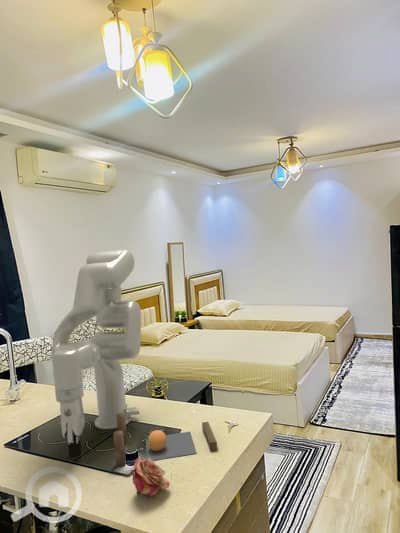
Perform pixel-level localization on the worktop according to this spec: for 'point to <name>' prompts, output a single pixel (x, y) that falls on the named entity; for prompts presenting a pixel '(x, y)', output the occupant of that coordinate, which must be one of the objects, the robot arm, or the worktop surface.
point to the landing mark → (173, 447)
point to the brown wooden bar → (209, 436)
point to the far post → (121, 425)
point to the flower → (148, 477)
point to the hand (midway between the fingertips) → (75, 455)
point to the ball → (157, 440)
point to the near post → (119, 448)
